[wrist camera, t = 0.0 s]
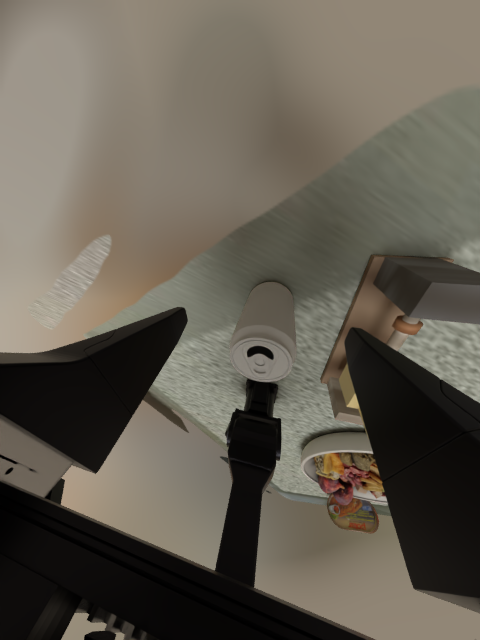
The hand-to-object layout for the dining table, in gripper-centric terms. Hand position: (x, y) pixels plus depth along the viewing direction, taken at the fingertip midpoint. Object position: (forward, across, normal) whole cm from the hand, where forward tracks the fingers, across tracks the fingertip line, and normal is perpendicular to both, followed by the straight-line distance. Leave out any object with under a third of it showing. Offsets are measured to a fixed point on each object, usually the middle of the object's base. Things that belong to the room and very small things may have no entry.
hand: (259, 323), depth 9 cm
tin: (+15, -34, +80) cm, 88 cm away
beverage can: (+15, 0, +6) cm, 16 cm away
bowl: (+15, -27, +48) cm, 57 cm away
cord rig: (+15, -14, +10) cm, 23 cm away
